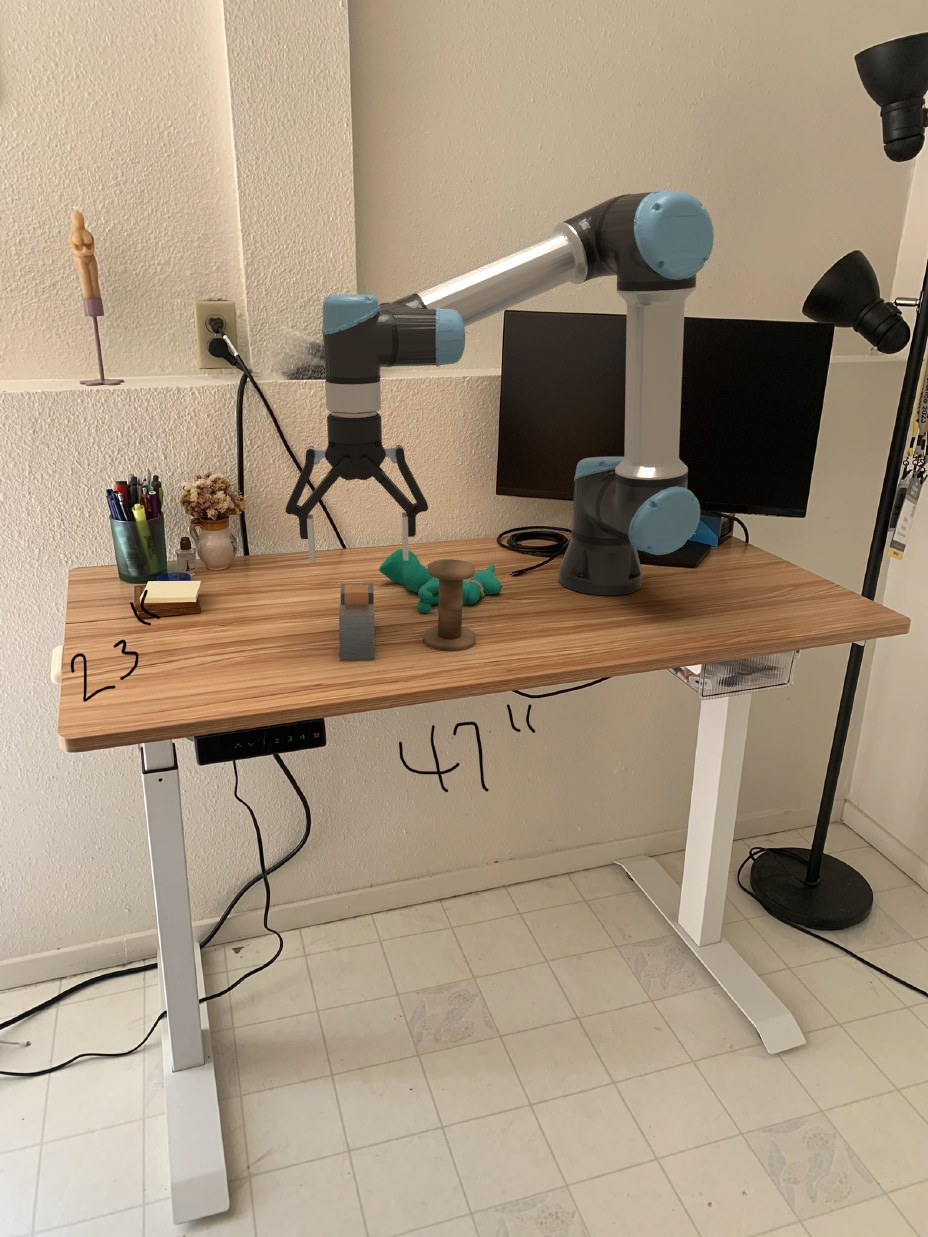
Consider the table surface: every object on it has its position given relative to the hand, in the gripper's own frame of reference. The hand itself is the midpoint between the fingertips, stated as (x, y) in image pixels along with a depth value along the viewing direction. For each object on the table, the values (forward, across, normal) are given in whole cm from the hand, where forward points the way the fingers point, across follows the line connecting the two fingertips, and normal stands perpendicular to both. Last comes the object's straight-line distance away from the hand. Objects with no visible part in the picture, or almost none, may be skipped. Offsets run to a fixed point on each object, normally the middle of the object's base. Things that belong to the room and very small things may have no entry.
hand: (359, 559), depth 136 cm
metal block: (+13, +1, 0) cm, 13 cm away
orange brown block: (+12, +1, 0) cm, 12 cm away
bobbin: (+13, -13, 0) cm, 19 cm away
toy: (+14, -13, -21) cm, 28 cm away
